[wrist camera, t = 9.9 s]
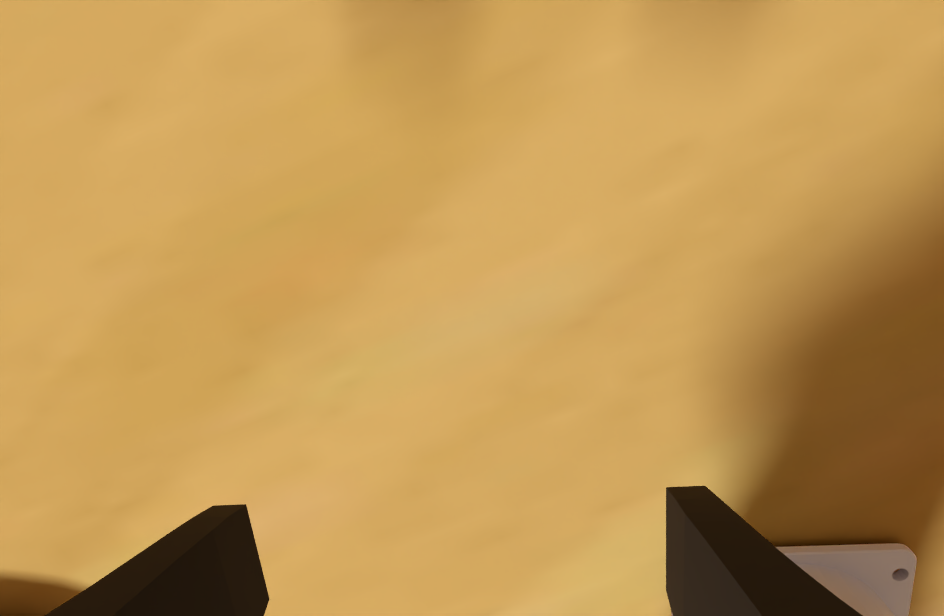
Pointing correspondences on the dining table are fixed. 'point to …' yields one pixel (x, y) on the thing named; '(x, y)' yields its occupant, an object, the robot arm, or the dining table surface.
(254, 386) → the dining table surface
